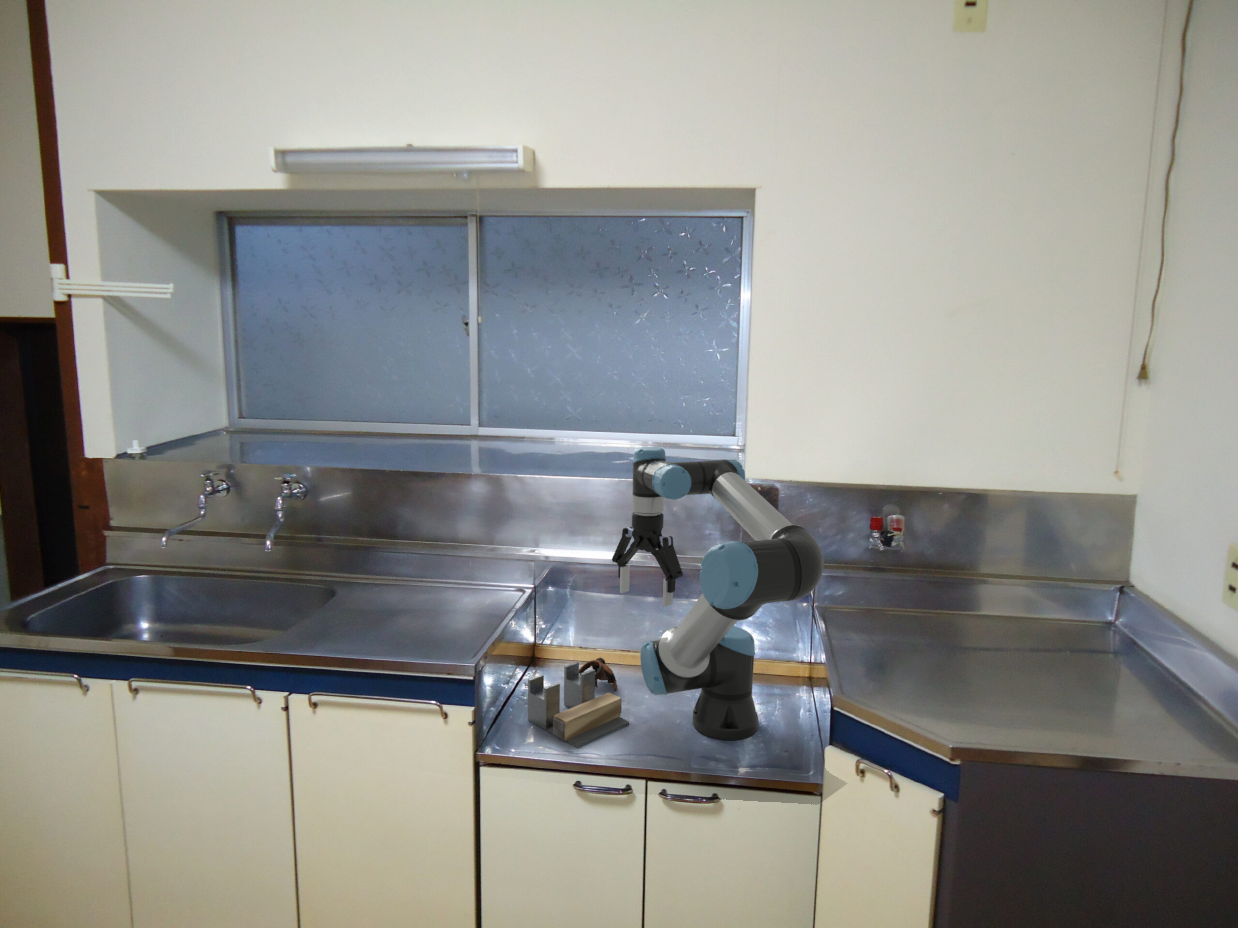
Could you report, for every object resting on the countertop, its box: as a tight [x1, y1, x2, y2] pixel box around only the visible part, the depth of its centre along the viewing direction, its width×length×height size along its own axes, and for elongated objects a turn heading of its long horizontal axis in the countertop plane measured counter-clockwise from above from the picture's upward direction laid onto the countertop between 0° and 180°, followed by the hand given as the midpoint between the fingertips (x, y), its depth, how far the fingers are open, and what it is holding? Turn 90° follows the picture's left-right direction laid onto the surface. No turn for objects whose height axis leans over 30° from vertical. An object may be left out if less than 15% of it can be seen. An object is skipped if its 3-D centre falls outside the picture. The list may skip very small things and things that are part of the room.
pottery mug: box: [579, 657, 618, 692], centre depth 206 cm, size 12×10×8 cm
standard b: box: [527, 674, 561, 731], centre depth 187 cm, size 7×4×10 cm, turn 45°
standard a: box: [563, 661, 596, 709], centre depth 194 cm, size 7×4×10 cm, turn 45°
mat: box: [547, 716, 630, 749], centre depth 185 cm, size 10×16×1 cm, turn 135°
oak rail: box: [552, 692, 622, 742], centre depth 185 cm, size 4×18×4 cm, turn 135°
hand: (645, 598), depth 196 cm, fingers open, 13 cm apart
